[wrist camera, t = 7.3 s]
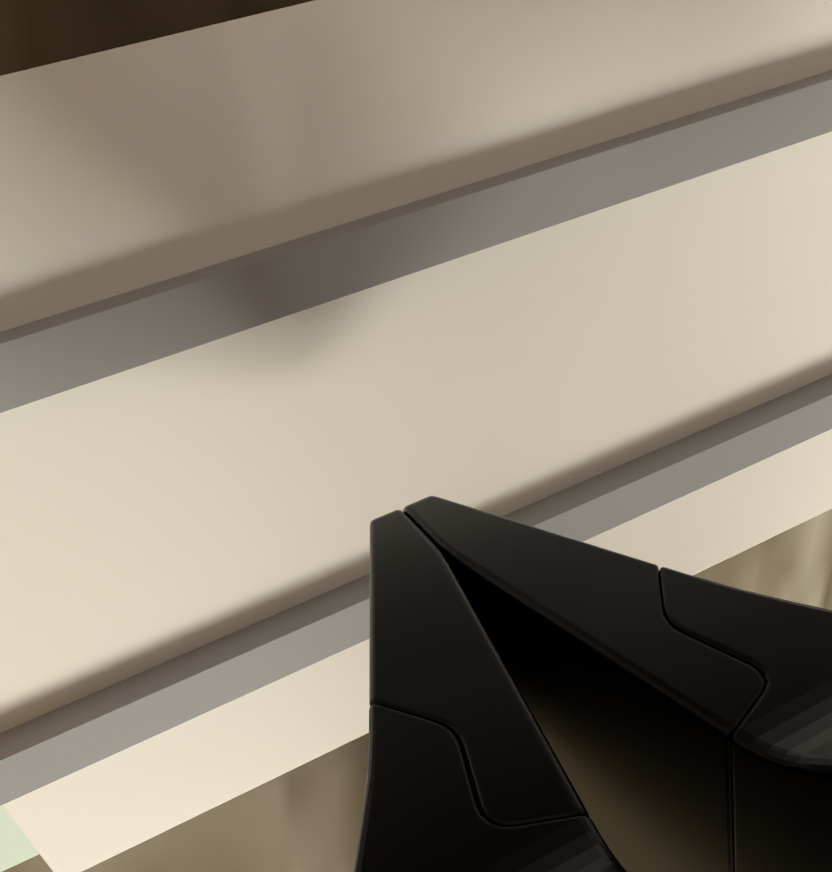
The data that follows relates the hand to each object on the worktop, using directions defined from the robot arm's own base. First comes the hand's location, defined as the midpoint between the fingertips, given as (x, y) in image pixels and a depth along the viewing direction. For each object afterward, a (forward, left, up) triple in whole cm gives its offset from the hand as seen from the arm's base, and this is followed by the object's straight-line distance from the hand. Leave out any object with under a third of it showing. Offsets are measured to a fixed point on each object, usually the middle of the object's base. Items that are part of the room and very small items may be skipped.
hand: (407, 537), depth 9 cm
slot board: (0, -3, -6) cm, 7 cm away
